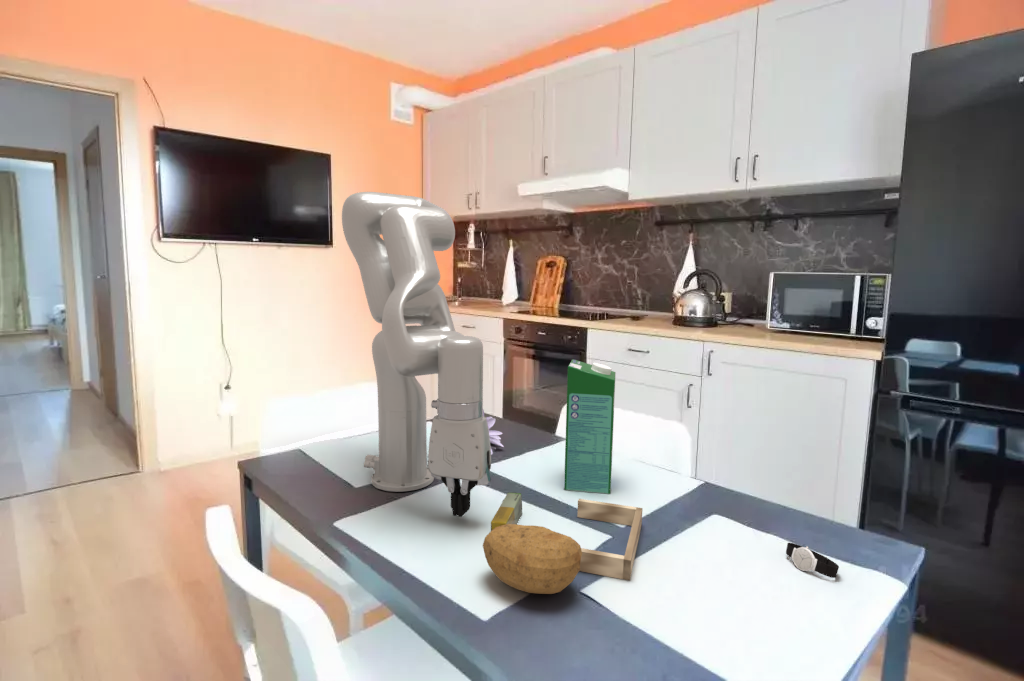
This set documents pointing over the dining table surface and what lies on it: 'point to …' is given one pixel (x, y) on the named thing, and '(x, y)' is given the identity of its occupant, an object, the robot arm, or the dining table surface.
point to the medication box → (508, 510)
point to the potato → (532, 558)
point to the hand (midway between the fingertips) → (460, 512)
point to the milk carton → (589, 427)
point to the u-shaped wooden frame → (607, 561)
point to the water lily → (493, 432)
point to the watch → (811, 560)
